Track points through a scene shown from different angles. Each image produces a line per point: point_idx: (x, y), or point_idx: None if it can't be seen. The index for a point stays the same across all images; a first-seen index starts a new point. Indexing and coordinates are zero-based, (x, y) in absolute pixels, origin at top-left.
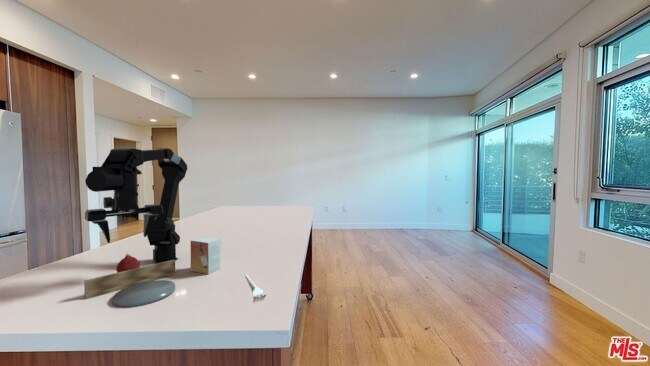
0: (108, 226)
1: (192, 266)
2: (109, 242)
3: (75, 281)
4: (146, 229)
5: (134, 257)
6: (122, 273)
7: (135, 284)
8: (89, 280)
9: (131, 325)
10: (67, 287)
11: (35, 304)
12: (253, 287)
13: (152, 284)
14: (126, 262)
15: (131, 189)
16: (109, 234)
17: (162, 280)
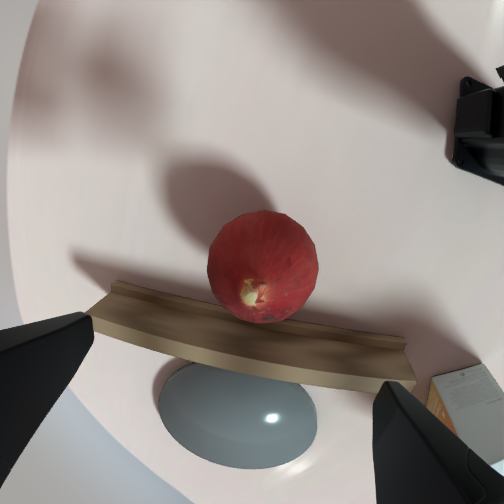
0: (7, 473)
1: (435, 397)
2: (90, 342)
3: (134, 72)
4: (378, 487)
5: (290, 296)
6: (196, 360)
7: None
8: (96, 331)
9: (168, 475)
10: (100, 126)
11: (37, 217)
12: None
13: (270, 409)
14: (233, 313)
15: None
16: (50, 409)
17: (308, 407)
